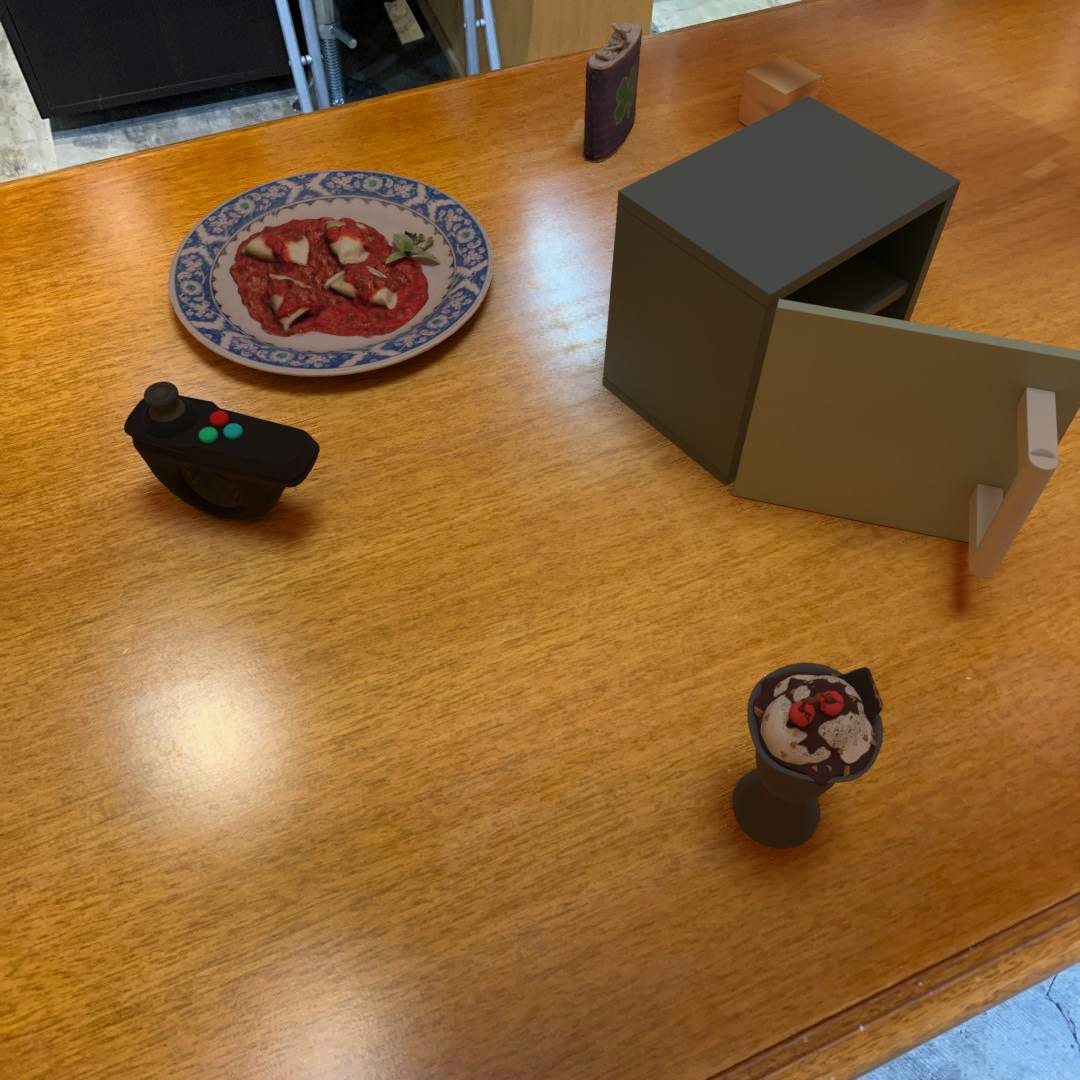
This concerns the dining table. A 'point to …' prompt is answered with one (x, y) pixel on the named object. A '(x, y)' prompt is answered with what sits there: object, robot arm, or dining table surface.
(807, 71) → the block
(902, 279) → the cupboard
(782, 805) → the sundae
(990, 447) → the door
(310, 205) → the ceramic plate
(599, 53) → the flask
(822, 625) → the dining table surface
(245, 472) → the controller
